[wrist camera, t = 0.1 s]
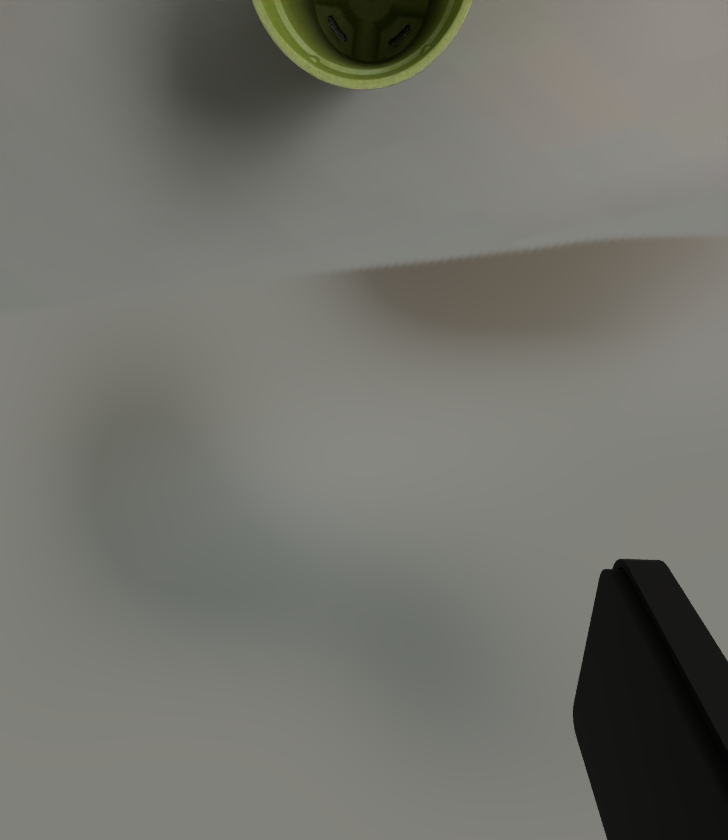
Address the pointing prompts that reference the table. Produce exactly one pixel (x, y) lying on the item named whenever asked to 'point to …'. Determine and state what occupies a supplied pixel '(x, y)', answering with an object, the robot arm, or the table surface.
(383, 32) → the plant pot
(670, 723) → the robot arm
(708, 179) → the table surface
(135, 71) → the table surface
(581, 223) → the table surface
